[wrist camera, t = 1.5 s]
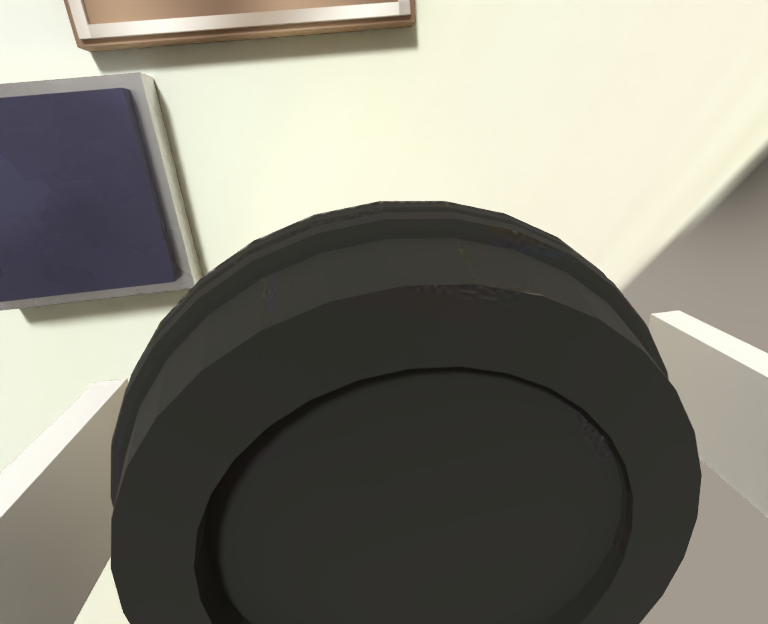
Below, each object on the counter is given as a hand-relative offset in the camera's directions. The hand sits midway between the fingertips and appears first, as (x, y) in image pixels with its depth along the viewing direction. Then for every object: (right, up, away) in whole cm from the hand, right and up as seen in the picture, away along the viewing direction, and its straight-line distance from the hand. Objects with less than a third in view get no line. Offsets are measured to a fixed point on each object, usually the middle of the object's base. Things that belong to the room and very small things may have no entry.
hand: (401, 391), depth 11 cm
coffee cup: (-2, +4, +9) cm, 10 cm away
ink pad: (-13, +7, +7) cm, 16 cm away
